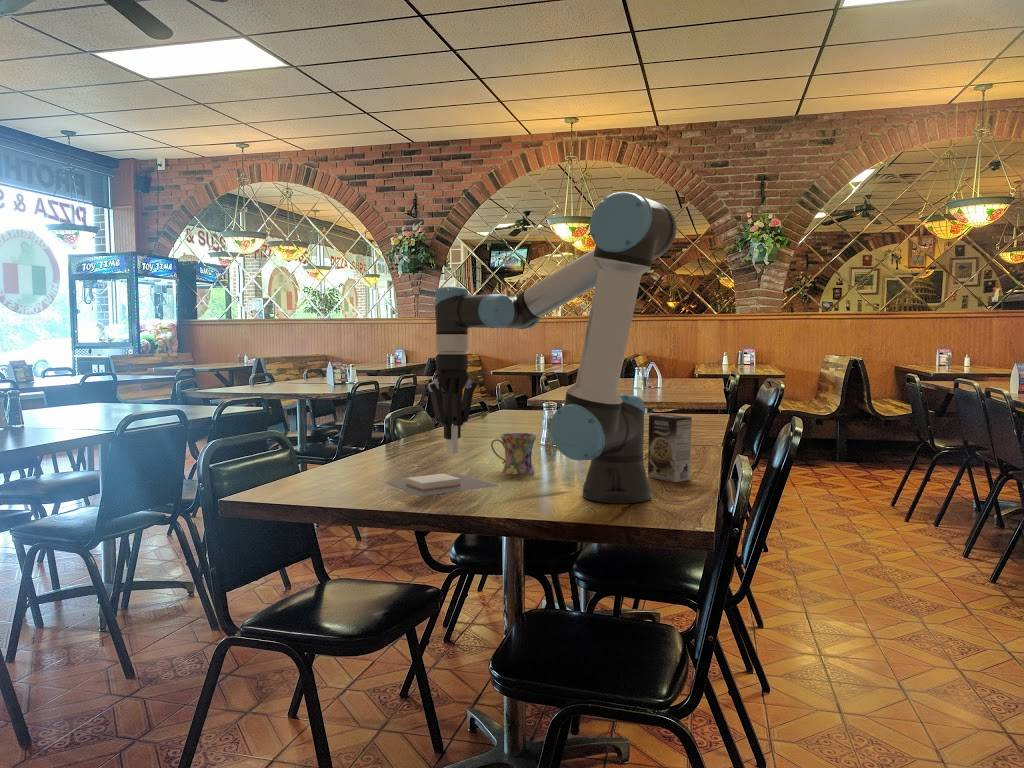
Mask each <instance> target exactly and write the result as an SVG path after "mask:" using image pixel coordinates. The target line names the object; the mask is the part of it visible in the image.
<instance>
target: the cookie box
mask: <svg viewBox="0 0 1024 768" xmlns="http://www.w3.org/2000/svg"><path fill="white" fill-rule="evenodd" d="M692 421H693V420H692V417H690V416H684V415H683V416H682V415H677V414H676V415H675V414H668V413H664V414H663V413H662V414H660V413H658V414H657V413H655V414H649V415H648V445H647V446H648V449H647V450H648V451H647V452H648V458H647V460H648V461H647V478H652V479H656V480H660V481H666V482H670V483H679V482H684V481H685V482H686V481H690V479H691V450H692V447H691V446H692Z"/></svg>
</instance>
